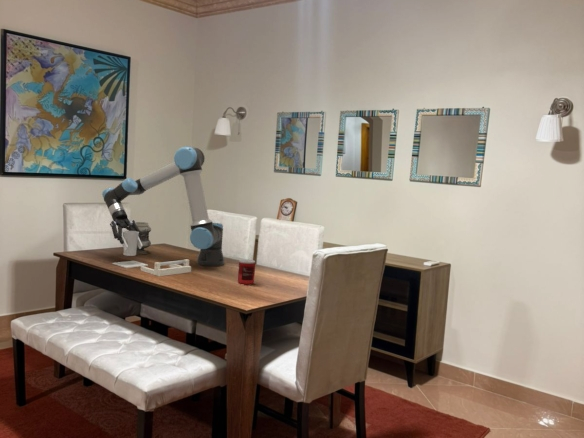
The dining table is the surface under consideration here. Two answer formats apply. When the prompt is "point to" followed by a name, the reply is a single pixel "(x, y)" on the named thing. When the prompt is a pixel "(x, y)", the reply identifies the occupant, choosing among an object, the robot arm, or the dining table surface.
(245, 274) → the canned food
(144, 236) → the apothecary jar
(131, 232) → the cup
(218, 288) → the dining table surface
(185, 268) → the dispenser bay
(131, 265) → the mat
